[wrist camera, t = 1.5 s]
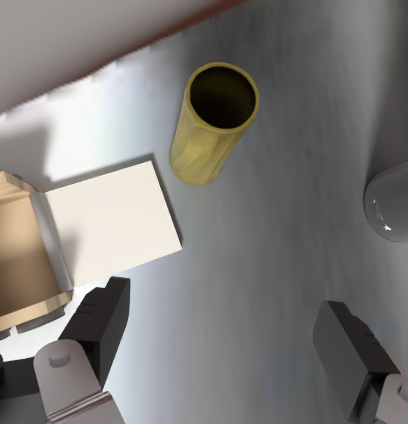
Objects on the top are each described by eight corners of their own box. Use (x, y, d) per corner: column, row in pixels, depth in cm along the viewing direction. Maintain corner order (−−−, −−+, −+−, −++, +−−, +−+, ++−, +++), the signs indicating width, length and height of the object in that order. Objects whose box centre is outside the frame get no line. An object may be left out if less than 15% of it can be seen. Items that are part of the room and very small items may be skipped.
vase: (169, 131, 35) (179, 50, 21) (222, 135, 36) (266, 60, 22) (168, 184, 34) (177, 136, 20) (222, 186, 35) (267, 142, 21)
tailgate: (151, 163, 34) (150, 157, 32) (181, 249, 33) (182, 249, 31) (35, 198, 32) (26, 194, 30) (65, 291, 31) (58, 294, 29)
